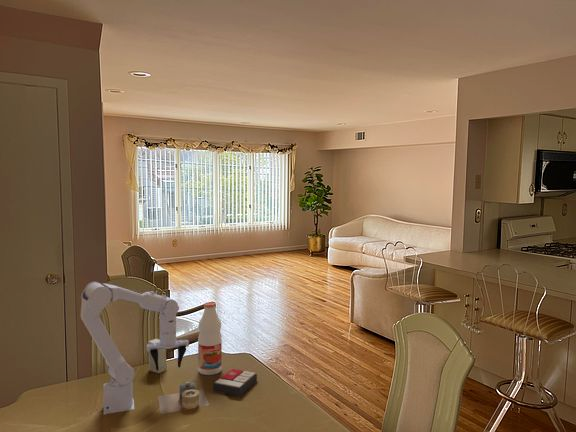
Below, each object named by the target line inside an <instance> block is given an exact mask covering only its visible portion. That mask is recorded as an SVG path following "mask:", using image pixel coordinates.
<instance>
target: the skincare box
mask: <svg viewBox="0 0 576 432" xmlns="http://www.w3.org/2000/svg"><path fill="white" fill-rule="evenodd" d="M147 341H148V342H147V345H148V344H153V343H157V342H160V338H159V339H158V338H154V339H151V340H147ZM147 353H148V370H149V371H150V372H154V373H156V374H160V373H163V372H165V371H167V364H168V363H167V349H160V350H158V368H159V369H158V370H156V365H155V362H154V359H153V357H152V355H151V352H150V351H149V352H147Z"/></svg>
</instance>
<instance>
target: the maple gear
mask: <svg viewBox="0 0 576 432" xmlns="http://www.w3.org/2000/svg"><path fill="white" fill-rule="evenodd" d="M198 390H199V389H196V390H194V389H191V390H186V391H184V392H183V393H182V407H183V408H186V409H189V410H192V408H194V409H197V408H196V407H197V406H198V405H199V392H198ZM188 394H193V395H190V396H189V395H188Z"/></svg>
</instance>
